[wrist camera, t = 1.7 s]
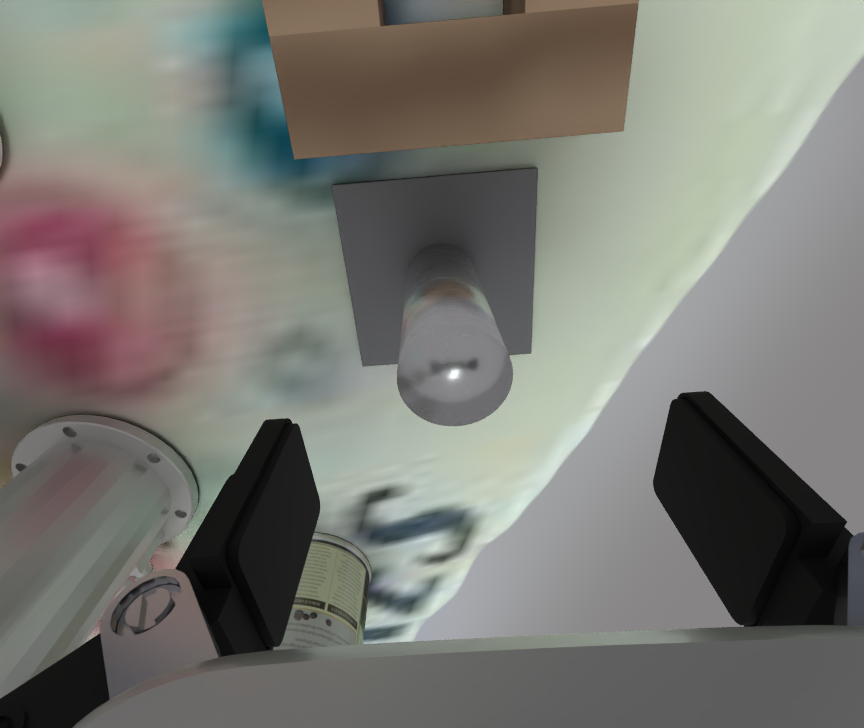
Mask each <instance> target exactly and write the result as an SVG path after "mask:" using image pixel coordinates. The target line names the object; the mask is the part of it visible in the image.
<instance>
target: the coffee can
mask: <svg viewBox="0 0 864 728" xmlns="http://www.w3.org/2000/svg"><path fill="white" fill-rule="evenodd" d="M370 581H371V568H370V564H369V562H368V560H367V558H366V557H365V556H364V554H363V553H362V552H361V551H360V550H359V549H358V548H357V547H355V546H354V545H352V544H350V543H349V542H347V541H345V540H343V539H341V538H338V537H336V536H332V535H326V534H322V533H314V534H313V538H312V541H311V545H310V548H309V551H308V555H307V558H306V562H305V565H304V569H303V572H302V576H301V579H300V583H299V586H298V590H297V593H296V596H295V600H294V603H293V607H292V610H291V614H290V617H289V621H288V624H287V628H286V631H285V634H284V638H283V641H282V643H281V645H280V646H279V647H274V648H273V650H284V649H298V648H312V647H326V646H340V645H358V644H363V638H364V629H365V621H366V611H367V604H368V594H369V585H370Z"/></svg>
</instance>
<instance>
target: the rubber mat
mask: <svg viewBox="0 0 864 728" xmlns="http://www.w3.org/2000/svg"><path fill="white" fill-rule="evenodd" d="M537 177H538V168H523V169H511V170H500V171H488V172H476V173H464V174H452V175H440V176H428V177H417V178H405V179H393V180H381V181H369V182H357V183H346V184H334V185H332V191H333V197H334V202H335V208H336V214H337V220H338V226H339V232H340V237H341V243H342V249H343V255H344V261H345V266H346V272H347V278H348V284H349V290H350V295H351V301H352V307H353V313H354V319H355V324H356V330H357V336H358V342H359V348H360V353H361V359H362V365H363V366H375V365H388V364H398V361H399V351H400V341H401V332H402V322H403V312H404V303H405V293H406V283H407V274H408V268H409V265H410V263H411V261H412V259H413V258H414V257H415V255H416V254H417V253H418V252H419V251H421V250H422V249H424V248H425V247H427V246H430V245H433V244H441V243H444V244H450V245H453V246H456V247H458V248H459V249H461V250H462V251H464V252H465V253H466V254H467V256H468V257H469V258H470V260H471V262H472V264H473V267H474V269H475V272H476V274H477V277H478V279H479V282H480V284H481V287H482V289H483V292H484V294H485V297H486V299H487V302H488V304H489V307H490V309H491V312H492V314H493V317H494V319H495V322H496V324H497V327H498V330H499V332H500V335H501V337H502V340H503V342H504V345H505V347H506V350H507V352H508V355H517V354H530V353H531V343H532V315H533V288H534V260H535V232H536V205H537Z"/></svg>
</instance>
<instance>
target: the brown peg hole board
mask: <svg viewBox="0 0 864 728" xmlns="http://www.w3.org/2000/svg"><path fill="white" fill-rule="evenodd" d="M638 2H639V0H503V15H499V16H488V17H477V18H466V19H455V20H444V21H433V22H422V23H411V24H400V25H389V26H387V24H386V14H385V4H384V0H262V3H263V8H264V13H265V18H266V23H267V28H268V33H269V38H270V43H271V47H272V52H273V57H274V62H275V67H276V72H277V77H278V82H279V87H280V91H281V96H282V101H283V106H284V111H285V116H286V121H287V126H288V131H289V135H290V140H291V145H292V150H293V155H294V159H305V158H316V157H328V156H340V155H351V154H363V153H375V152H386V151H398V150H410V149H422V148H433V147H445V146H457V145H468V144H480V143H492V142H503V141H515V140H527V139H538V138H550V137H562V136H573V135H585V134H597V133H608V132H620V131H623V130H624V122H625V113H626V105H627V96H628V88H629V79H630V71H631V62H632V54H633V45H634V37H635V28H636V20H637V11H638Z"/></svg>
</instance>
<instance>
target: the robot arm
mask: <svg viewBox="0 0 864 728" xmlns="http://www.w3.org/2000/svg"><path fill="white" fill-rule="evenodd" d="M11 470H12V476H13V479H12V480H11V481H9V482H8V483H7V484H6V485H5V486H3V487H2V488H1V489H0V728H864V532H862V533H858V534H857V535H855V536H853V535H852V534H851V533H850V532H849V531H848V530H847V529H846V528H845V527H844V526H845V524H846V523H847V521H846V520H845V519H844V518H842V516H840V515H839V514H838V513H837V512H836V511H835V510H834V509H833V508H832V507H831V506H830V505H829V504H828V503H827V502H826V501H824V500H823V499H822V498H821V497H820V496H819V495H818V494H817V493H816V492H815V491H814V490H813V489H812V488H810V486H808V485H807V484H806V483H805V482H804V481H803V480H802V479H801V478H800V477H799V476H798V475H797V474H796V473H795V472H794V471H792V469H790V468H789V467H788V466H787V465H786V464H785V463H784V462H783V461H782V460H781V459H780V458H779V457H778V456H777V455H776V454H774V453H773V452H772V451H771V450H770V449H769V448H768V447H767V446H766V445H765V444H764V443H763V442H762V441H760V439H758V437H756V436H755V435H754V434H753V433H752V432H751V431H750V430H749V429H748V428H747V427H746V426H744V424H743V423H742V422H740V421H739V420H738V419H737V418H736V417H735V416H734V415H733V414H732V413H731V412H730V411H729V410H728V409H727V408H726V407H725V406H724V405H722V404H721V403H720V402H719V401H718V400H717V399H716V398H715V397H714V396H713V395H712V394H710V393H709V392H705V391H704V392H689V393H681V394H680V395H679V396H678V398H677V399H674V400H673V401H672V402H671V405H670V409H669V413H668V418H667V423H666V427H665V431H664V435H663V440H662V444H661V449H660V453H659V457H658V462H657V466H656V471H655V475H654V479H653V486H654V491H655V493H656V495H657V497H658V499H659V500H660V502H661V503H662V505H663V507H664V508H665V510H666V512H667V513H668V515H669V516H670V518H671V520H672V521H673V523H674V525H675V526H676V528H677V529H678V531H679V533H680V534H681V536H682V537H683V539H684V541H685V542H686V544H687V546H688V547H689V549H690V550H691V552H692V554H693V555H694V557H695V558H696V560H697V561H698V563H699V565H700V567H701V568H702V570H703V571H704V573H705V574H706V576H707V578H708V579H709V581H710V583H711V584H712V586H713V588H714V589H715V591H716V592H717V594H718V596H719V597H720V599H721V600H722V602H723V604H724V605H725V607H726V609H727V610H728V612H729V613H730V615H731V617H732V618H733V619H734V620H735V622H736V623H738V624H740V625H744V627H722V628H698V629H675V630H649V631H625V632H602V633H580V634H558V635H536V636H515V637H494V638H473V639H454V640H435V641H416V642H396V643H377V644H358V645H340V646H326V647H312V648H298V649H284V650H273V648H274V647H279V646H280V645H281V643H282V641H283V638H284V634H285V631H286V628H287V624H288V621H289V617H290V614H291V610H292V607H293V603H294V600H295V596H296V593H297V590H298V586H299V583H300V579H301V576H302V572H303V569H304V565H305V562H306V558H307V555H308V551H309V548H310V545H311V541H312V538H313V534H314V531H315V527H316V524H317V520H318V517H319V513H320V500H319V496H318V492H317V489H316V485H315V481H314V478H313V474H312V470H311V467H310V463H309V460H308V456H307V452H306V449H305V445H304V442H303V438H302V434H301V431H300V427H299V425H298V424H292V421H291V420H290V419H288V418H286V419H271V420H265V421H264V423H263V424H262V426H261V428H260V430H259V431H258V433H257V435H256V437H255V438H254V440H253V442H252V444H251V445H250V447H249V449H248V451H247V452H246V454H245V456H244V458H243V459H242V461H241V463H240V465H239V466H238V468H237V470H236V472H235V473H234V474H233V475H231V476H230V477H229V478H228V480H227V481H226V483H225V484H224V486H223V488H222V489H221V491H220V493H219V495H218V496H217V498H216V500H215V502H214V503H213V505H212V507H211V508H210V510H209V512H208V514H207V515H206V517H205V519H204V520H203V522H202V524H201V526H200V527H199V529H198V531H197V532H196V534H195V536H194V538H193V539H192V541H191V543H190V545H189V546H188V548H187V550H186V551H185V553H184V555H183V557H182V558H181V560H180V562H179V563H178V565H177V567H176V569H164V570H159V571H156V570H155V568H154V566H153V565H152V564H151V563H150V559H151V557H152V556H153V554H154V553H155V551H156V549H157V548H158V546H159V545H160V544H162V543H165V542H168V541H169V540H171V539H173V538H174V537H176V536H178V535H179V534H180V533H181V532H182V531H183V530H184V529H185V528H186V527H187V525H188V524H189V522H190V520H191V519H192V517H193V516H194V513H195V511H196V508H197V505H198V490H197V485H196V482H195V479H194V477H193V475H192V473H191V471H190V469H189V468H188V466H187V465H186V464H185V462H184V461H183V459H182V458H181V457H180V456H179V455H178V454H177V453H176V452H175V451H174V450H173V449H172V448H171V447H169V446H168V445H167V444H165V443H164V442H163V441H161V440H160V439H159V438H157V437H156V436H154V435H152V434H150V433H148V432H147V431H145V430H143V429H141V428H139V427H136V426H133V425H131V424H128V423H126V422H123V421H119V420H115V419H111V418H108V417H102V416H93V415H69V416H64V417H59V418H55V419H52V420H50V421H47V422H45V423H43V424H41V425H39V426H38V427H37V428H35V429H34V430H32V431H31V432H30V433H28V434H27V435H26V436H25V437H24V438H23V439H22V440H21V441H20V442H19V443H18V444H17V446H16V448H15V450H14V452H13V454H12V460H11ZM133 576H134V577H135V579H136V581H135V579H134V578H133ZM103 614H104V615H103ZM102 616H103V618H102V620H101V626H100V634H98V635H97V636H95V637H94V638H92V639H91V640H89V641H88V642H86V643H85V641H86V640H87V638H88V637H89V635H90V634H91V632H92V631H93V629H94V628H95V626H96V625H97V623H98V622H99V620H100V619H101V617H102ZM84 643H85V644H84Z"/></svg>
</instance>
